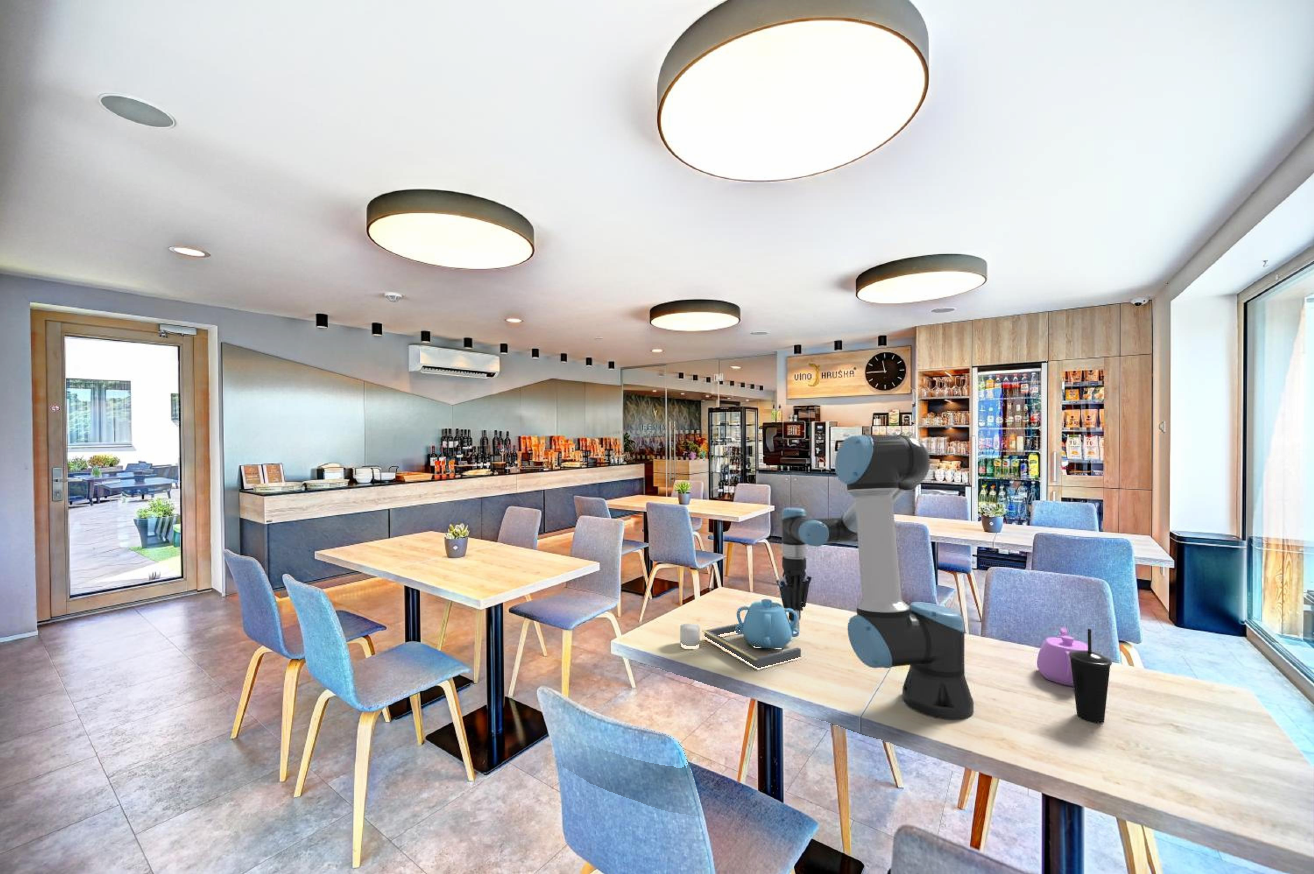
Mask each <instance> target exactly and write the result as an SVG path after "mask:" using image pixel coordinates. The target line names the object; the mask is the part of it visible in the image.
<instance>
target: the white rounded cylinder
mask: <svg viewBox="0 0 1314 874" xmlns="http://www.w3.org/2000/svg"><path fill="white" fill-rule="evenodd" d="M700 629H701V628H700V625H698V624H695V623H684V624H681V625H680V627H679V641H680V642H679V644H680V643H682V644H683V645H686V646H696V645H698V644H699V643H700V644H701V641H700V640H701V639H700V637H701V635H700V634H701V632H700V631H701V630H700Z"/></svg>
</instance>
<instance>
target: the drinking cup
mask: <svg viewBox="0 0 1314 874" xmlns="http://www.w3.org/2000/svg"><path fill="white" fill-rule="evenodd" d="M1092 643H1093V642H1092V629H1091V628H1087V645H1088V651H1087V650H1079V651H1072V652H1070V653H1069V657H1070V660H1071V669H1072V677H1073V685H1074V686H1073V693H1074V700H1075V709H1076V716H1077V717H1078V718H1079V719H1081V720H1084V721H1085V722H1089V723H1092V724H1103V723H1104V722H1105V718H1106V717H1105V716H1106V707H1107V700H1108V690H1109V681H1110V671H1111V666H1112V665H1113V661H1112V660H1111V659H1110V658H1108V657H1106V656H1104V655H1103V654H1101V653H1098V652H1096V651H1093V649H1092Z"/></svg>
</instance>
